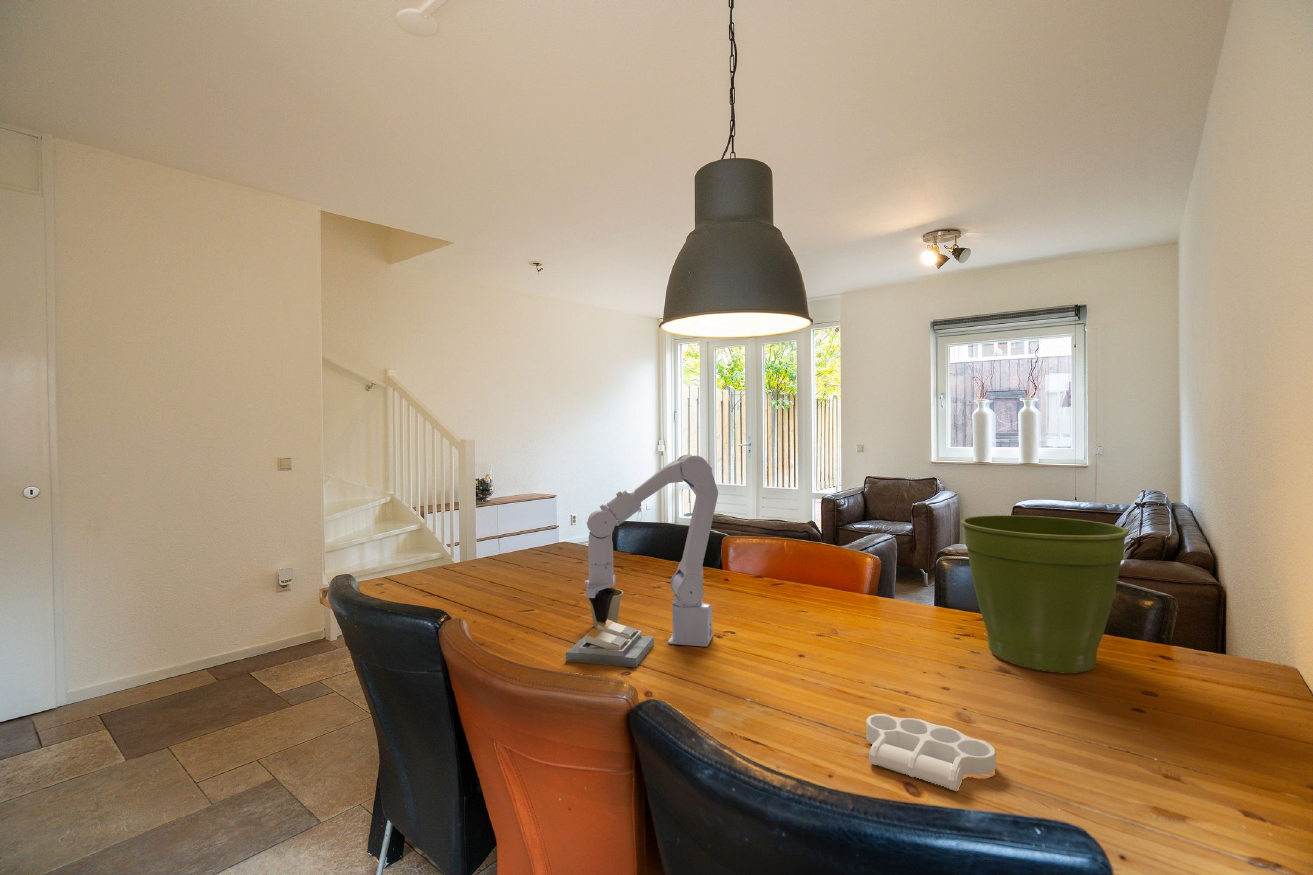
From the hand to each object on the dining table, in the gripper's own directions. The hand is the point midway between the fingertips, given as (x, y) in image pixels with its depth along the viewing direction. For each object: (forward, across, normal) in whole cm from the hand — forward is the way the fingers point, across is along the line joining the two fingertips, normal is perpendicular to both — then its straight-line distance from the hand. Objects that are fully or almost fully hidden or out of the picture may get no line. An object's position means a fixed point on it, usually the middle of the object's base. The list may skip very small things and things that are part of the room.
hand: (601, 621), depth 138 cm
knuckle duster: (+6, +34, +64) cm, 73 cm away
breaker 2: (+2, 0, +4) cm, 4 cm away
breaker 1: (+2, +7, +4) cm, 8 cm away
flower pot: (+6, -14, -4) cm, 16 cm away
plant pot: (+6, -14, +94) cm, 96 cm away
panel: (+6, +4, +4) cm, 8 cm away
